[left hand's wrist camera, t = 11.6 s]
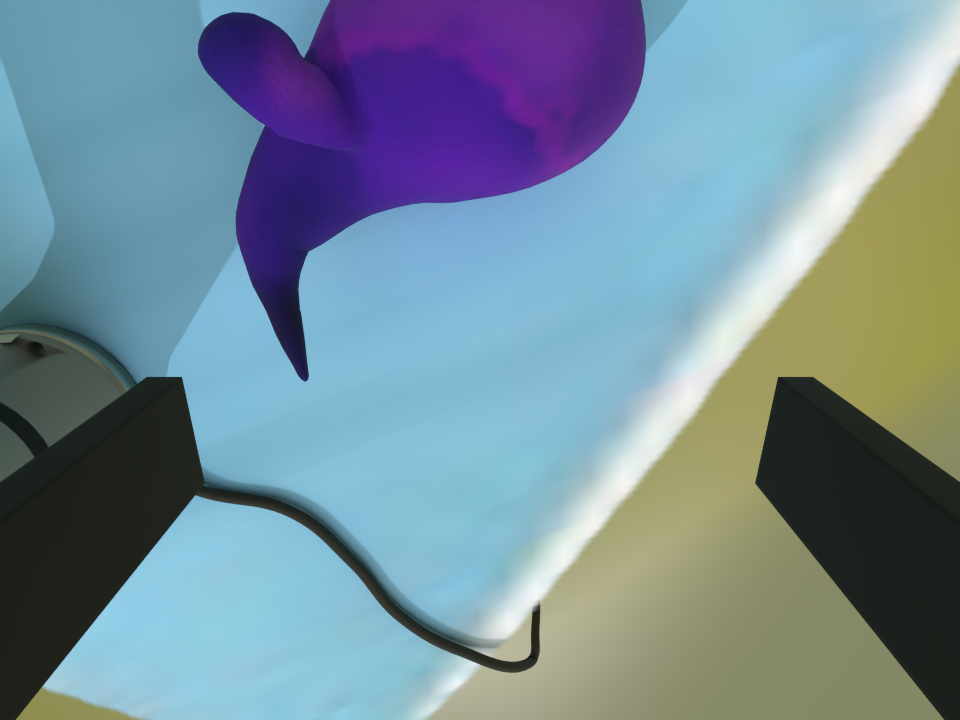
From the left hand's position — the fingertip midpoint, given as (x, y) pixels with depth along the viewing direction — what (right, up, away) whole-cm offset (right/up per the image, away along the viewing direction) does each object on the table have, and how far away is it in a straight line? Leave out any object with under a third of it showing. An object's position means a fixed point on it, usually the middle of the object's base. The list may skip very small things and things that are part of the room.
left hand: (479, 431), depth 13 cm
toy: (-4, +18, +28) cm, 33 cm away
